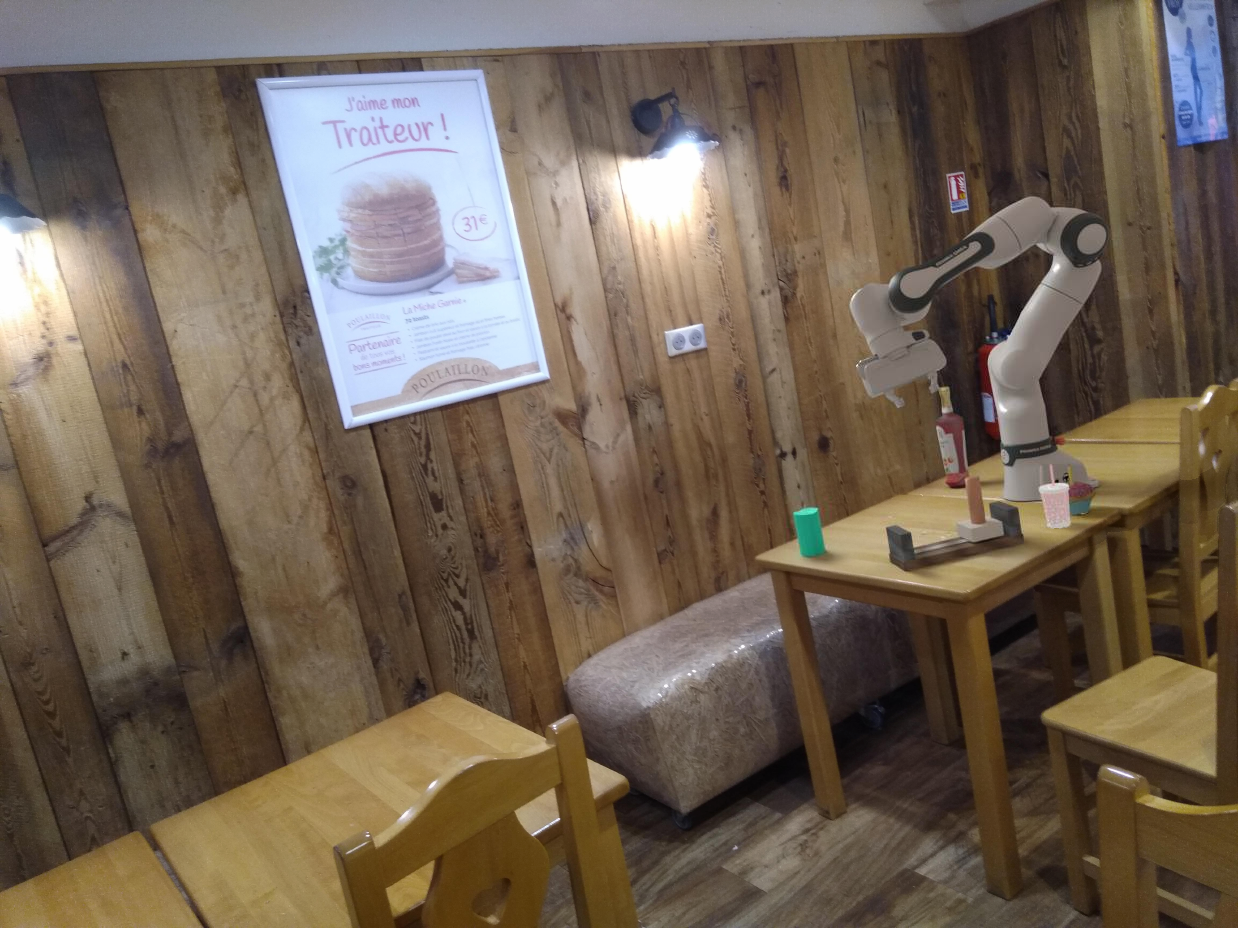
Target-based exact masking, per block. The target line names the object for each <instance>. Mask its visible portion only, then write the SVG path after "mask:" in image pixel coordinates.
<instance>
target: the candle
mask: <svg viewBox="0 0 1238 928" xmlns="http://www.w3.org/2000/svg"><path fill="white" fill-rule="evenodd" d="M803 506H804V508H803V509H801V510H799V511H794V512H793V520H794V524H795V531H796V536H797V541H798V547H799V552H800V556H802V557H816V556H820V555H822V554H824V553H825V552H826V546H825V540H824V535H823V530H822V528H823V527H822V524H821V523H822V522H821V518H820V513H819V508H818V507H806V505H805V504H804V505H803Z"/></svg>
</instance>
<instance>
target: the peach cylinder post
mask: <svg viewBox="0 0 1238 928" xmlns="http://www.w3.org/2000/svg"><path fill="white" fill-rule="evenodd" d="M965 485H966V486H965V491H966V496H967V504H968V510H969V516H970V517H969V519H964V520H961V521H960V520H959V521H957V522H955V524H956V530H957V531H956V532H957V533H956V534H957V537H963V538H965V539H967V540H969V541H971V542H977V541H981V540H985V539H989V538H994V537H998V536H1002V535H1004V532H1003V525H1002V522H1001V521H999V520H996V519H994V518H991V516H989V515H986V514H985V513H986V512H985V506H984V505H985V504H984V500H983V495H982V494H983V493H982V487H981V480H980V476H978V475H972V476H971V475H970V476H969V477H966V478H965Z"/></svg>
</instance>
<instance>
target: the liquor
mask: <svg viewBox="0 0 1238 928" xmlns="http://www.w3.org/2000/svg"><path fill="white" fill-rule="evenodd" d="M939 388H940V390H939V391H938V392H939V395H940V400H941V415H942V416H940V417H938V418H937V419H936V420H935V423H934V424H935V428H936V432H937V433H936V434H937V437H938V442H939V443H938V444H939V448H940V453H941V457H942V458H941V459H942V462H943V467H944V472H945V473H944V474H945V477H946V480H945V484H946V485H947V486H949V487H950V488H952V489H953V488H955V489H959V488H964V487H966V485H965V478H966V477H970V474H969V466H968V455H967V447H966V435H965V426H964V417H963V416H960V415H959V414H955V413H954V409H953V405H952V401H951V392H950V387H949V386H942V387H939Z"/></svg>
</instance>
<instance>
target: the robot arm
mask: <svg viewBox="0 0 1238 928" xmlns="http://www.w3.org/2000/svg"><path fill="white" fill-rule="evenodd" d="M1109 238H1110V227H1109V225H1108V223H1107V222H1106V220H1104V219H1103V217H1101V216H1099V215H1097V214H1096V213H1093V212H1088V211H1085V210H1083V209H1080V208H1075V207H1063V206H1061V205H1049V203H1048V202H1047V201H1046V200H1044V199H1043V198H1041V197H1039V196H1034V195H1033V196H1027V197H1024V198H1023V199H1020V200H1018V201H1016V202H1014V203H1012V204H1009V205H1008V206H1006V207H1004V208H1002V209H1001V210H1000V211H998V212H996V213H995V214H994V215H992V216H990V217H989V218H988V219H986V220H985V221H983V222H982V223H981V224H979V226H977V227H976V228H975V229H974V230H972V231H971V232H970V233H969V234H968V235H967V236H966V237H964V238H963V239H962V240H960V241H959V242H957V243H956V244H954V245H952V246H951V247H949V248H948V249H946V250H945V251H943V252H942V253H940V254H938V255H936V256H935V257H934V258H931V259H930V260H929V261H926V262H924V263H921V264H918V265H913V266H909V267H905V268H903V269H901V270H900V271H899V270H898V271H897V272H896V273H895V274H894V275H893V277H891V279H890V280H889V281H890V282H889V283H888V284H887V283H886V284H884V283H883V284H880V283H875V282H869V283H867V284H865V285H863V286H861V287H860V288H858V289H857V291H855V292H854V293H853V294H852V297H851V299H850V300H849V309H850V312H851V315H852V317H853V319H854V322H855V323H856V326H857V328H858V329H859V332H861V333H862V334H863V336H864V337H865V340H866V342H867V343H866V344H867V346H868V347H869V350H870V352H871V354H872V355H871V356H869V357H866V358H865V359H861V360H859V361H858V363H857V364H856V372H857V374H858V377H860V379H861V381H862V383H863V387H864V389H865V392H866V394H867V395H868V396H869V397H871V398H873V399H874V398H877V397H879V396H881V395H885V398H887V399H888V400H889V401H890V402H892V403H893V404H895V407H896V408H898V409H899V408H902V407H904V406H905V405H906V403H905V401H904V398H903V397H898V396H897V395H895V391H894V390H895V389H898V388H900V387H903V386H905V385H908V384H910V383H912V382H915V381H917V380H919V379H922V378H924V377H927V379H928V380H930V384H931V385H929V386H928V389H929V390H930V393H931V394H934V393H937V392H939V390H940V388H941V387H940V386H939V384H938V371H940V370H941V369H943V368H944V367H946V364H947V358H946V356H945V355H944V352H943V351H942V350H941V348H940V346H939V345H938V343H936V341H934V340H933V339H931V338H930V339H929V337H930V333H929V331H928V330H926V329H920V330H919V329H915V330H905V329H904V328H903V327H905V326H908V325H911V324H914V323H916V322H919V321H920V320H923V318H925V317H926V315H927V314H928V312H929V311H930V307H931V305H932V300H933V299H934V297H935V295H936V293H937V292H938V291H939V289H941V288H942V287H943V286H945V285H946V284H947V283H949V282H950V281H952V280H953V279H955V278H956V277H958V276H960V275H961V274H963V273H965V272H967V271H968V270H970V269H971V268H974V267H979V268H983V269H986V270H994V269H996V268H999V267H1001V266H1003V265H1005V264H1007V263H1009V262H1010V261H1013V260H1014V259H1015V258H1017V257H1018V256H1019V255H1021V254H1023V253H1024V252H1026V251H1027V250H1028V249H1029V248H1031V247H1033V246H1034V247H1035V248H1036V249H1038V250H1041V251H1043V252H1044V251H1045V252H1046V253H1048V254H1050V255H1053V257H1052V258H1053V259H1052V264H1051V266H1050V269H1049V271H1048V272H1047V274H1046V275H1045V276H1044V277H1043V279H1042V281H1041V282H1040V284H1039V285H1038V286H1037V288H1036V289H1035V291H1034V292H1033V294H1032V296H1030V298H1029V300H1028V301H1027V303H1026V304H1025V306H1024V307H1023V310H1022V311H1021V312H1020V315H1019V317H1018V319H1017V321H1016V323H1015V324H1014V325H1015V326H1013V329H1012V331H1011V333H1010V334H1009V336H1008V338H1007V340H1004V341H1002V342H1000V343H998V344H996V345H995V346H994V347H993V348H992V349H991V351H990V353H989V355H988V359H987V367H988V373H989V378H990V379H989V380H990V384H991V390H992V394H993V400H994V403H995V407H996V408H995V409H996V413H997V420H998V426H999V427H998V429H999V432H1000V433H999V434H1000V440H1001V441H1000V442H999V447H1000V455H1001V456H1000V457H1001V459H1002V464H1003V470H1004V471H1003V473H1004V475H1003V477H1004V479H1003V491H1002V498H1003V499H1005V500H1009V501H1016V502H1027V501H1028V502H1029V501H1031V502H1033V501H1042V497H1041V493H1040V492H1039V487H1040V486H1043V485H1046V484H1052V479H1051V472H1050V465H1051V464H1052V469H1053V476H1054V483H1065V484H1066V483H1068V482H1070V478H1069V472H1068V467H1069V465H1070V467H1071V470H1072V476H1073V482H1083V483H1086V484H1089V485H1091V486H1093V488H1094V489H1095V488H1097V487H1100V482H1099V480H1098V479H1096V478H1094V477H1091V476H1088V475H1089V474H1088V472H1087V468H1086V466H1085V465H1084V463H1083V462H1082V461H1081V460H1080V459H1078V458H1076V457H1074V456H1072V455H1070V454H1068V453H1067V452H1065V451H1063V450H1060V449H1059V446H1064V445H1065V443H1066V438H1064V437H1061V436H1055V437H1054V436H1051V435H1050V433H1049V432H1050V431H1049V427H1048V426H1049V425H1048V418H1047V412H1046V411H1047V410H1046V405H1045V401H1044V397H1043V394H1042V389H1041V385H1040V378H1041V377H1042V375H1043V372H1044V371H1045V369H1046V368H1047V366H1048V364H1049V362H1050V361H1051V359H1052V358H1053V355H1054V353H1055V351H1056V349H1057V348H1058V345H1059V344H1060V341H1061V340H1062V338H1063V336H1064V335H1065V333H1066V331H1067V329H1068V328H1069V327H1070V325H1071V324H1072V322H1073V320H1074V319H1075V318H1076V316H1077V315H1078V313H1079V312H1080V311H1081V309H1082V307H1083V306H1084V304H1086V301H1087V299H1088V298H1089V296H1090V295H1091V293H1092V291H1093V289H1094V288H1095V287H1096V284H1097V282H1098V279H1099V278H1100V277H1099V276H1100V275H1101V272H1102V264H1101V261H1100V258H1102V256H1103V253H1104V251H1105V249H1106V247H1107V245H1108V242H1109ZM1057 445H1059V446H1057ZM1068 464H1069V465H1068Z"/></svg>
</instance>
